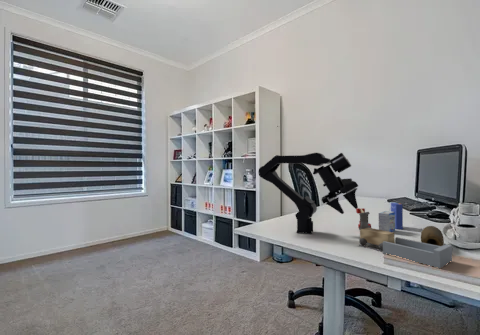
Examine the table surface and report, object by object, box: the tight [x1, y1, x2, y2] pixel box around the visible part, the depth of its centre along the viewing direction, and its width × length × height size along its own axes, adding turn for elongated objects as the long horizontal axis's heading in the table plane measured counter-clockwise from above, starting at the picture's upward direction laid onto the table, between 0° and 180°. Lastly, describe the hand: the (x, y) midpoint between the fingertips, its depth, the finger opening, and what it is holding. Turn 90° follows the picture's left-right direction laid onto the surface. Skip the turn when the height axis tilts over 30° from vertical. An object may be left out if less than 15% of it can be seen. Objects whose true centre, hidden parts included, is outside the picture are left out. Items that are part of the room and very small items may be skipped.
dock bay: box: [359, 237, 453, 269], centre depth 85 cm, size 25×10×5 cm, turn 34°
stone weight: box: [420, 225, 445, 246], centre depth 92 cm, size 15×7×7 cm, turn 147°
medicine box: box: [378, 210, 396, 232], centre depth 114 cm, size 8×4×9 cm, turn 131°
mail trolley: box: [358, 211, 395, 252], centre depth 91 cm, size 10×6×12 cm, turn 34°
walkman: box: [388, 201, 404, 230], centre depth 122 cm, size 8×3×12 cm, turn 170°
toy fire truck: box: [355, 207, 372, 231], centre depth 115 cm, size 3×14×10 cm, turn 168°
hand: (349, 211), depth 105 cm, fingers open, 9 cm apart
